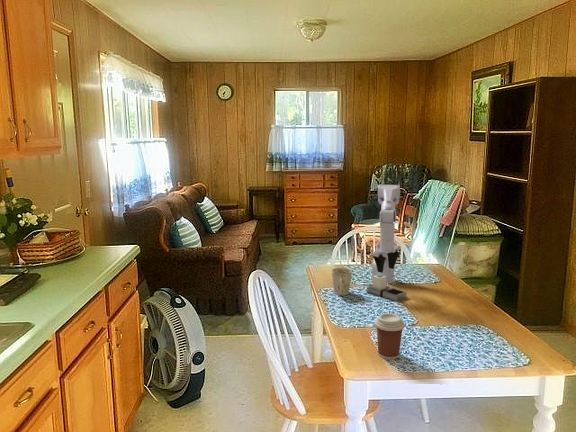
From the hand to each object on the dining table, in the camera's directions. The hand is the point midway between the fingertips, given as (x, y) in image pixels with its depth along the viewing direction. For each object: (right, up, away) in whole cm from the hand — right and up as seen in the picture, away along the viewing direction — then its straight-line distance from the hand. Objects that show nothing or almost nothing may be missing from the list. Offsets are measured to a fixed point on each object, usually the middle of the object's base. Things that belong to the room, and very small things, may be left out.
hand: (385, 270), depth 202 cm
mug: (-19, -11, -1) cm, 21 cm away
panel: (0, -10, -2) cm, 11 cm away
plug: (-3, -9, +1) cm, 10 cm away
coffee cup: (-10, -20, -53) cm, 57 cm away
